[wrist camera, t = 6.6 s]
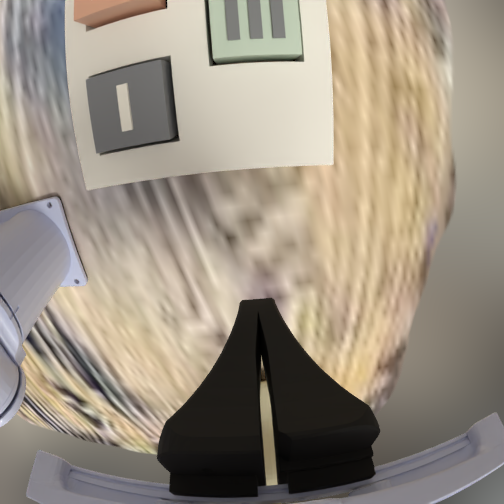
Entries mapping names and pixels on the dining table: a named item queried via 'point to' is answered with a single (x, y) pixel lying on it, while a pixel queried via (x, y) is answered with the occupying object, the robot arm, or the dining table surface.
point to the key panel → (206, 96)
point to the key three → (254, 30)
